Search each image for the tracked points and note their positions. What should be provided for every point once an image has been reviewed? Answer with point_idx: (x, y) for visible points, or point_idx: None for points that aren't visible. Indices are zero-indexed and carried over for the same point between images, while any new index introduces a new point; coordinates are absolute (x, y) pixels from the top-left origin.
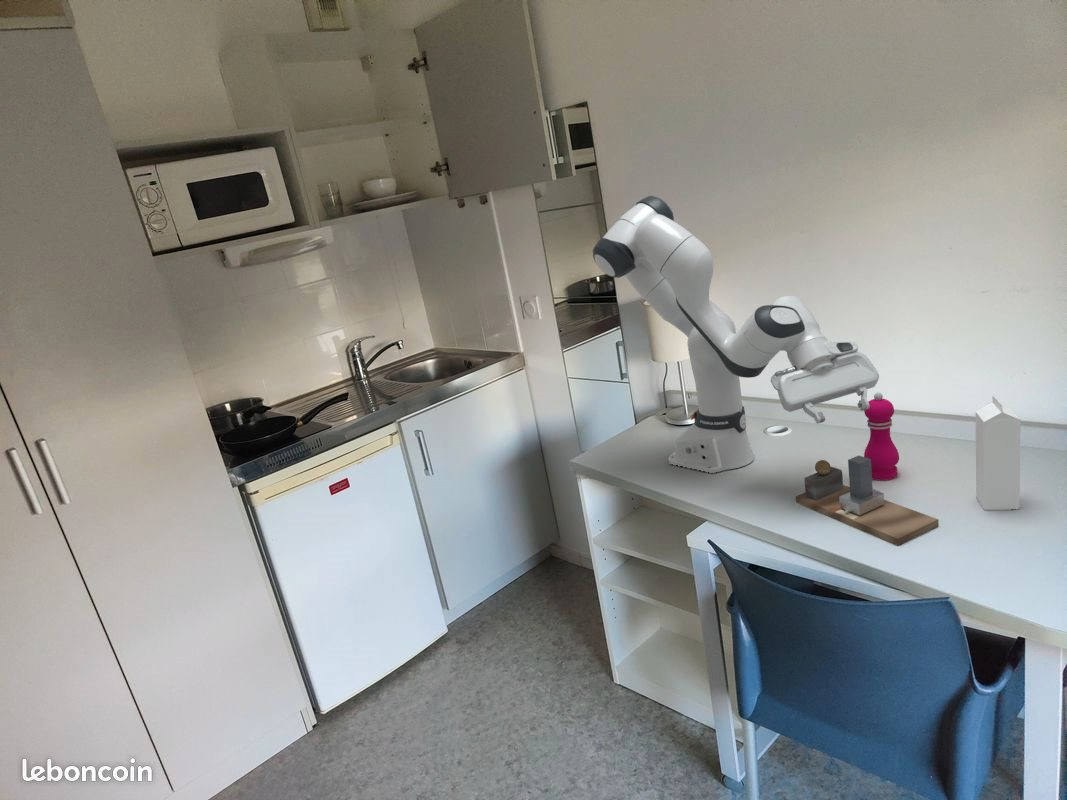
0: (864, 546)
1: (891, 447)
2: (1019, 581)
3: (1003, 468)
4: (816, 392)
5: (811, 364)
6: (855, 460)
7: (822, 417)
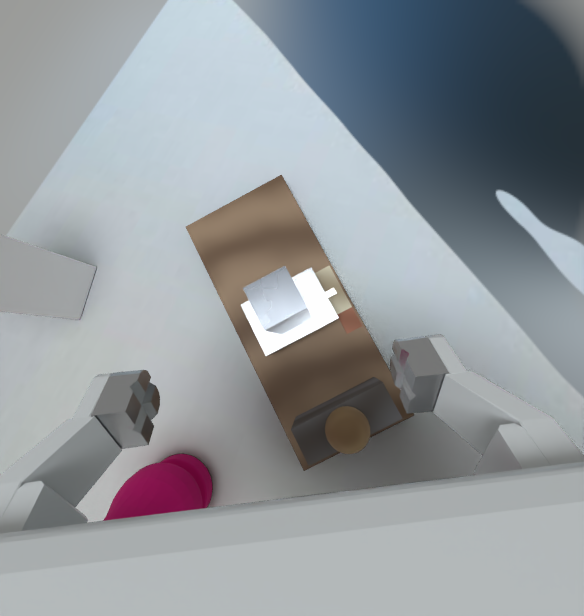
0: (337, 193)
1: (122, 496)
2: (174, 59)
3: None
4: (491, 537)
5: None
6: (288, 294)
7: (413, 343)
